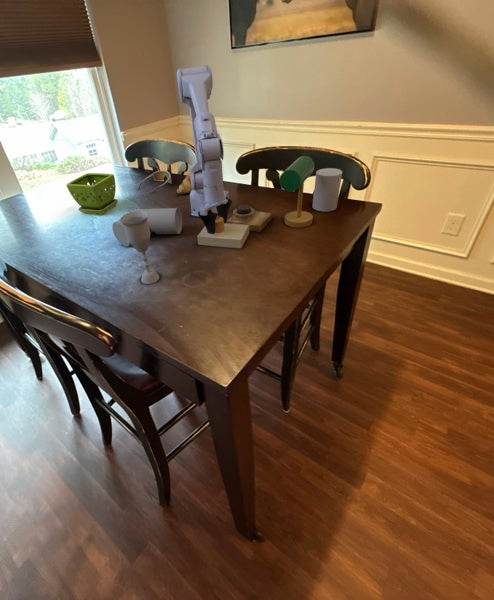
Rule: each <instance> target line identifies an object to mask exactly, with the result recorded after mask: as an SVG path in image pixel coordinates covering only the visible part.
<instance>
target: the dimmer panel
mask: <svg viewBox="0 0 494 600" xmlns="http://www.w3.org/2000/svg"><path fill="white" fill-rule="evenodd" d="M249 235H250V230H249V225H243V224H227V222H226V223H224V231H223V232H220V233H214V234H209V233H208V232H207V229H206V227H205V226H204V227H203V228H202V230H201V231H200V232H199V233H198V234H197V236H196V238H197V245H199V246H210V247H221V248H233V249H242V248H243V246H244V244H245V242H246V241H247V238H248V237H249Z"/></svg>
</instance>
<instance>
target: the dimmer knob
mask: <svg viewBox="0 0 494 600" xmlns="http://www.w3.org/2000/svg"><path fill="white" fill-rule="evenodd" d="M223 231H224V219H223V218H222V217H220V216H218V215H217V217H216V221H215V233H220V232H223Z"/></svg>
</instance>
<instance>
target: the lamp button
mask: <svg viewBox="0 0 494 600" xmlns="http://www.w3.org/2000/svg"><path fill="white" fill-rule="evenodd" d="M250 208H251V206H250V205H249V204H240V205H238V206H237V207H236V209H237V213H238V214H242V215H243V214H249V213H250Z"/></svg>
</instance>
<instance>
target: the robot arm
mask: <svg viewBox="0 0 494 600" xmlns="http://www.w3.org/2000/svg"><path fill="white" fill-rule="evenodd" d="M176 80H177V81H176V82H177V88H178V94H179V99H180V101H181V103H183V104H185V105H187V108H188V111H189V116H190V123H191V130H192V138H193V146H194V152H195V161H194V162H193V163H192V164H191V165H190V167H189V174H190V180H191V186H192V191H191V192H190V193H189V203H190V209H191V213H190V216H193V217H199V218H200V220H201V221H202V222H203V224H204V227H206V229H207V232H208V233H209V234H214V233H215V221H216V217H217V216H220V217H222V218H223V219H224V223H227V220H228V215H229V210H230V207H231V205H232V202H233V201H232V199H231V198H230V191H229V190H225V188H224V174H223V160H224V155H225V154H224V153H225V152H224V143H223V139H222V137H221V135H220V133H218V128H217V123H216V119H215V116H214V115H213V114H212V113H210V110H209V109H210V108H209V101H208V100H210V99H211V95H212V91H213V84H214V83H213V81H214V80H213V72H212V68H211V67H210V65H209V64H206V65H202V66H195V67H187V68H186V67H185V68H177V71H176Z"/></svg>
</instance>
